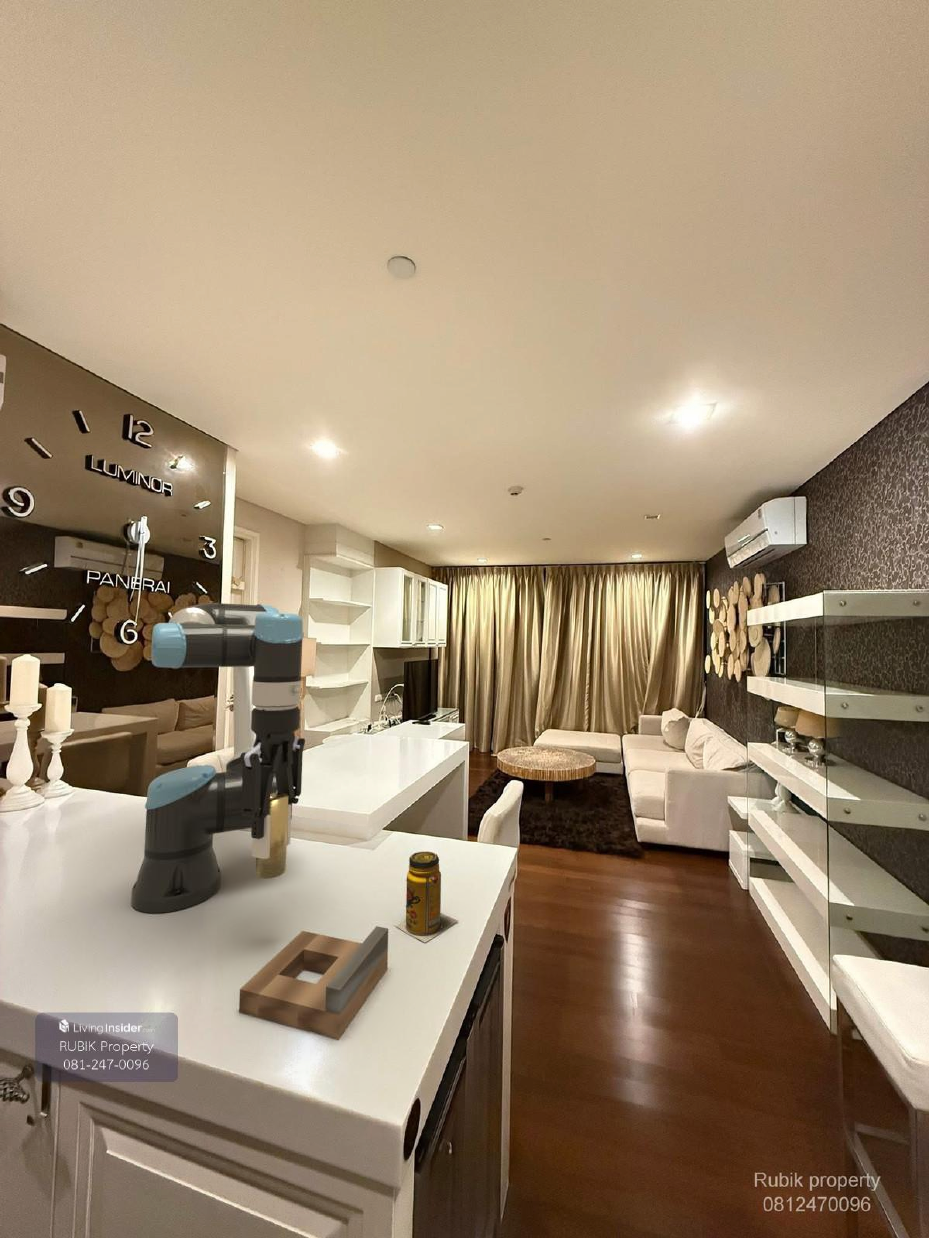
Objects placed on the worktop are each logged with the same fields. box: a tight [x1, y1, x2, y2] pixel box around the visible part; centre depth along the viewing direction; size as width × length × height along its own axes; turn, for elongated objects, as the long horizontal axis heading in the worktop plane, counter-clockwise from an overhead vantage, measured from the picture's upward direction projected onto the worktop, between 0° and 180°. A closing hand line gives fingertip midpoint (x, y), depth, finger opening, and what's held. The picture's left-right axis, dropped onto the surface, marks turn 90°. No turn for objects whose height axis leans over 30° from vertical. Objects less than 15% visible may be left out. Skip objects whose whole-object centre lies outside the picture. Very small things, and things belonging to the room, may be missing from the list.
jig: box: [238, 925, 389, 1040], centre depth 71 cm, size 15×14×6 cm
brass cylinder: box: [255, 793, 288, 879], centre depth 81 cm, size 5×5×12 cm
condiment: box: [395, 851, 459, 943], centre depth 88 cm, size 7×8×12 cm
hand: (271, 849), depth 81 cm, fingers closed on brass cylinder, 4 cm apart
